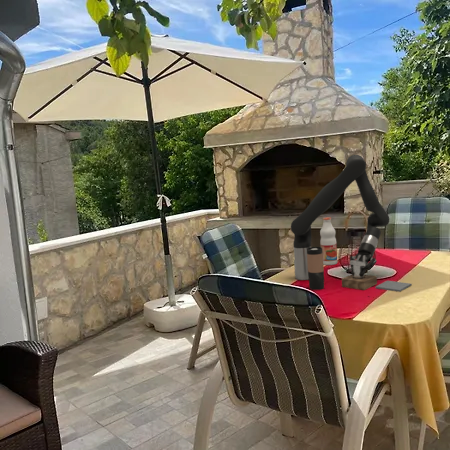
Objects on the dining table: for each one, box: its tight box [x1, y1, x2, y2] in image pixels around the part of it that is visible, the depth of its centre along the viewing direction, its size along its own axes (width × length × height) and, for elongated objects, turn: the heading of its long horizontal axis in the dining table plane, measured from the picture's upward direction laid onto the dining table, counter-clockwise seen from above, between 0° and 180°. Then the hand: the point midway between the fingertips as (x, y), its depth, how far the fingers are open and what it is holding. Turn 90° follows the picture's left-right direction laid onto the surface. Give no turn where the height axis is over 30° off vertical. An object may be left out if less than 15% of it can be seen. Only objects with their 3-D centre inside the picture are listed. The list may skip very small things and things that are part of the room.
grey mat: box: [374, 280, 413, 293], centre depth 208 cm, size 12×12×1 cm
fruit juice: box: [319, 216, 338, 266], centre depth 264 cm, size 9×9×28 cm
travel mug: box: [307, 246, 325, 291], centre depth 216 cm, size 8×8×20 cm
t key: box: [349, 260, 367, 279], centre depth 214 cm, size 8×4×12 cm, turn 43°
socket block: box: [341, 274, 378, 291], centre depth 215 cm, size 12×12×4 cm
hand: (356, 275), depth 213 cm, fingers closed on t key, 3 cm apart
